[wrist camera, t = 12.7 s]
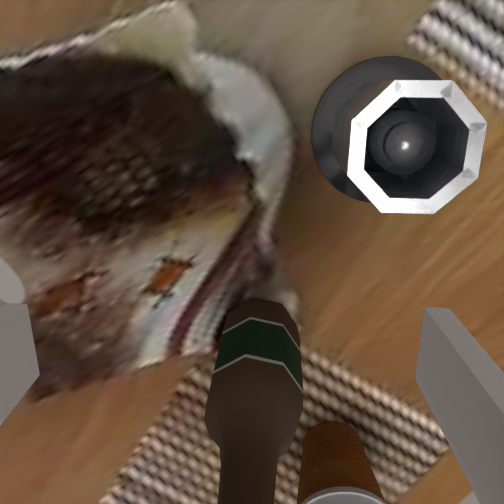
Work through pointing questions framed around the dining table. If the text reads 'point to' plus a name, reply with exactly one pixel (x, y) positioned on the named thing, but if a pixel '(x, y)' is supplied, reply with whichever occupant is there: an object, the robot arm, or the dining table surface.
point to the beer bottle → (254, 399)
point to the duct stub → (376, 125)
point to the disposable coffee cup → (336, 468)
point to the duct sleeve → (443, 159)
